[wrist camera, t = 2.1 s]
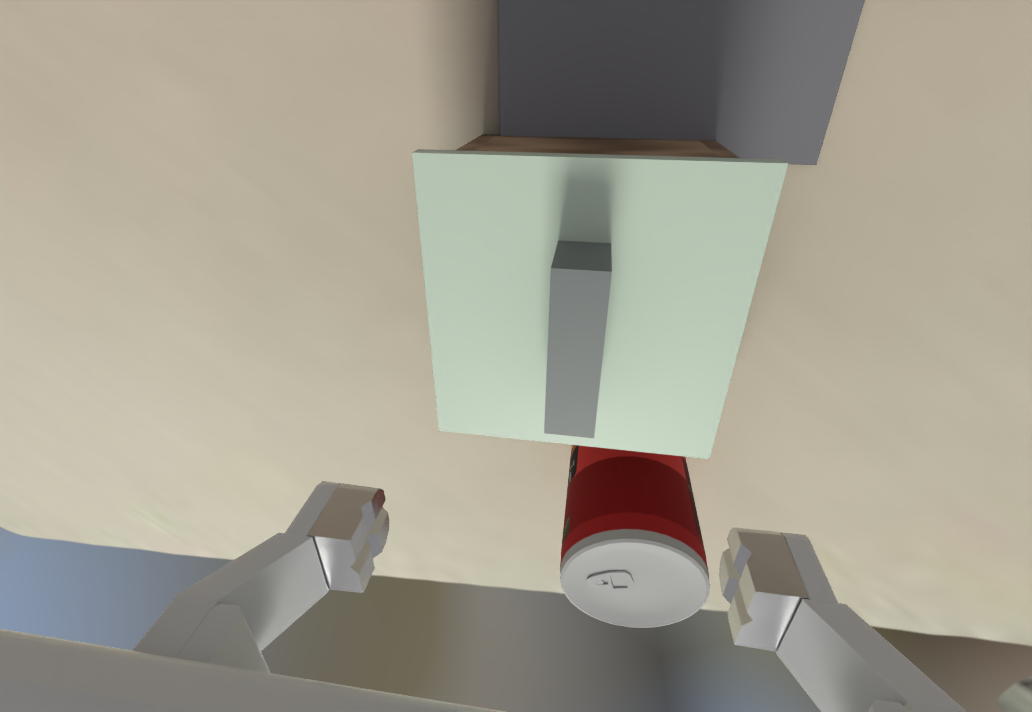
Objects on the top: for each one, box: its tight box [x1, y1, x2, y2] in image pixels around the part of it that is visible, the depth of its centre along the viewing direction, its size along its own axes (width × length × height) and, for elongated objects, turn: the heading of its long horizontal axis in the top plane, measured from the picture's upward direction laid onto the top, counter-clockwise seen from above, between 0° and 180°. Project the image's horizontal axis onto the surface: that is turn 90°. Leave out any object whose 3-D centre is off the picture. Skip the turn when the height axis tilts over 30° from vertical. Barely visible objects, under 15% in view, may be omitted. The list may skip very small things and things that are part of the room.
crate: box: [457, 135, 739, 158], centre depth 25 cm, size 12×12×9 cm
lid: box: [412, 149, 788, 459], centre depth 20 cm, size 13×13×5 cm
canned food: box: [560, 445, 710, 628], centre depth 31 cm, size 8×8×11 cm
